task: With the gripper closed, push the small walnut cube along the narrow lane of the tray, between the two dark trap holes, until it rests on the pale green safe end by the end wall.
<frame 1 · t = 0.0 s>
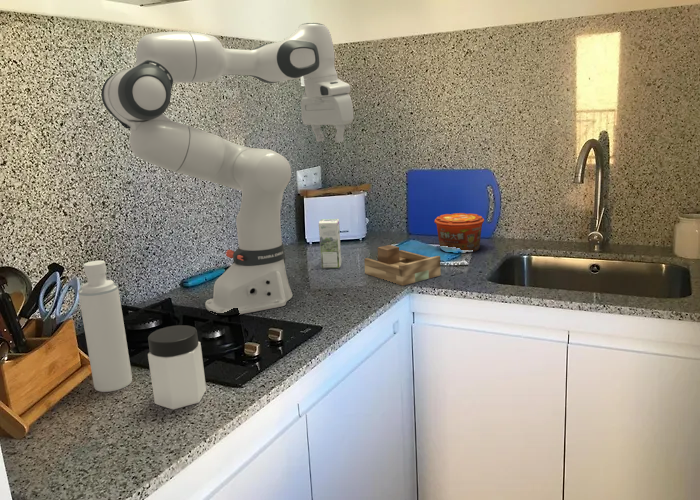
hand: (329, 141, 161), 39 cm above the worktop, tool pointing down, fingers open, 8 cm apart
food container: (459, 249, 198), on the worktop
jar: (181, 398, 105), on the worktop
block: (388, 262, 177), point 2 cm above the worktop, touching tray
tray: (402, 274, 172), on the worktop
white bottle: (113, 384, 112), on the worktop
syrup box: (331, 266, 185), on the worktop
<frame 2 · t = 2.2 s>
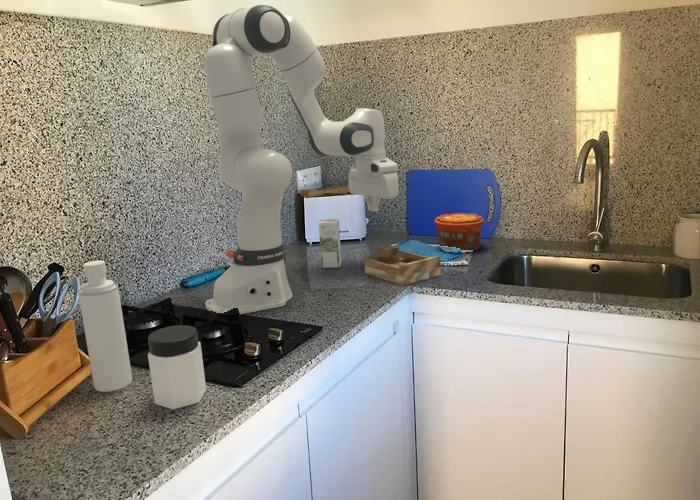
hand: (373, 211, 178), 17 cm above the worktop, tool pointing down, fingers closed
nothing on the worktop moved.
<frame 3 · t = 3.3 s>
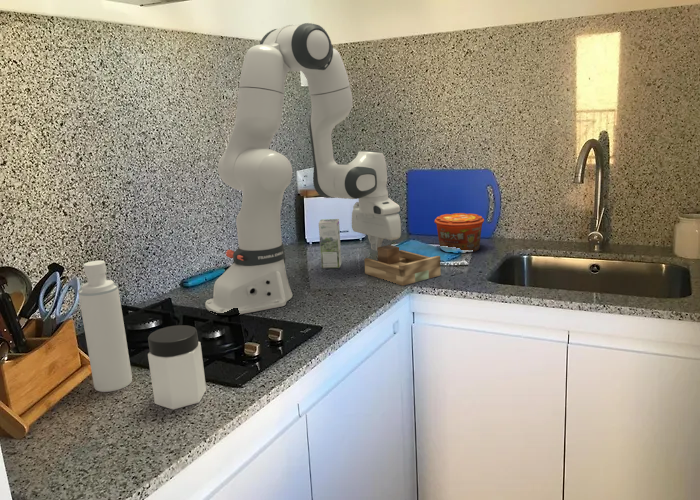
hand: (376, 249, 181), 5 cm above the worktop, tool pointing down, fingers closed
nothing on the worktop moved.
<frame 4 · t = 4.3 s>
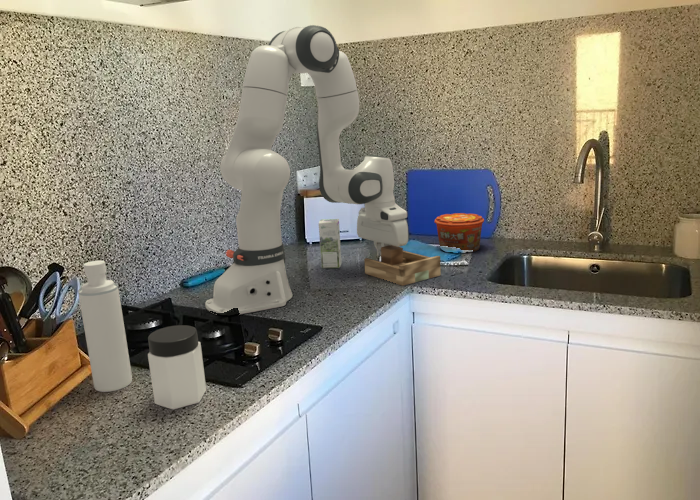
hand: (382, 256, 179), 4 cm above the worktop, tool pointing down, fingers closed
block: (391, 262, 176), point 3 cm above the worktop, touching tray, gripper
everything else where it was.
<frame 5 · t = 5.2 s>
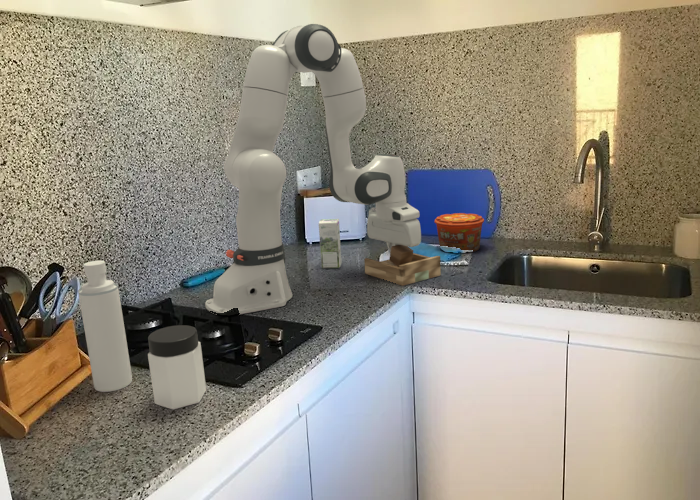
hand: (394, 256, 176), 4 cm above the worktop, tool pointing down, fingers closed
block: (400, 262, 173), point 3 cm above the worktop, tilted 17°, touching tray, gripper
everything else where it was.
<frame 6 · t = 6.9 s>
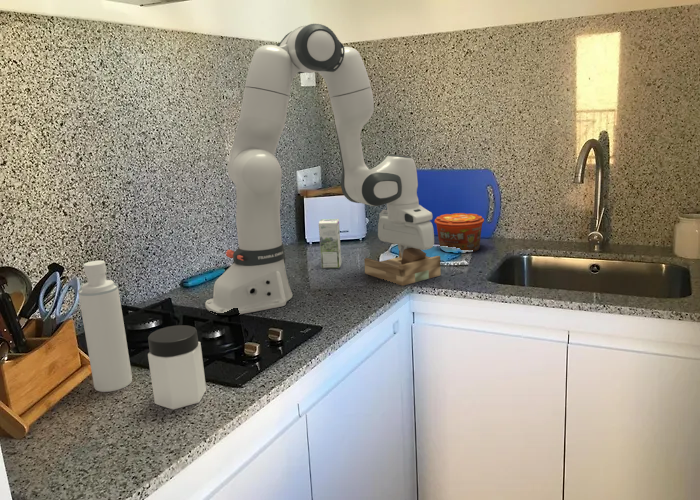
hand: (406, 259, 171), 4 cm above the worktop, tool pointing down, fingers closed
block: (412, 265, 169), point 3 cm above the worktop, tilted 17°, touching tray, gripper
everything else where it was.
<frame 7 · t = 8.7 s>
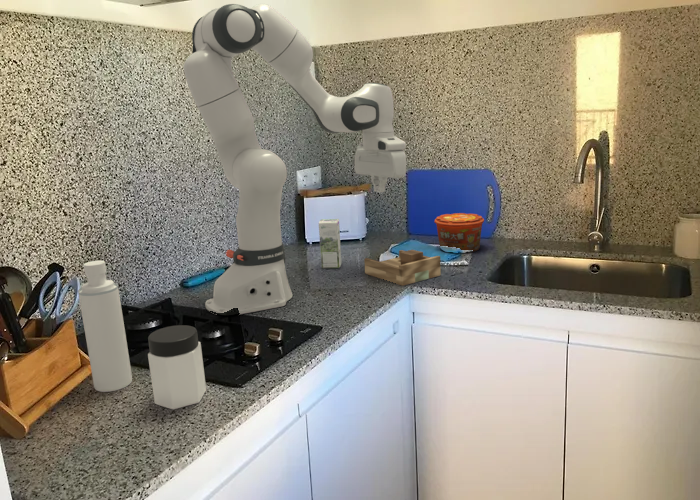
hand: (379, 191, 172), 23 cm above the worktop, tool pointing down, fingers closed
block: (412, 267, 169), point 2 cm above the worktop, touching tray
everything else where it was.
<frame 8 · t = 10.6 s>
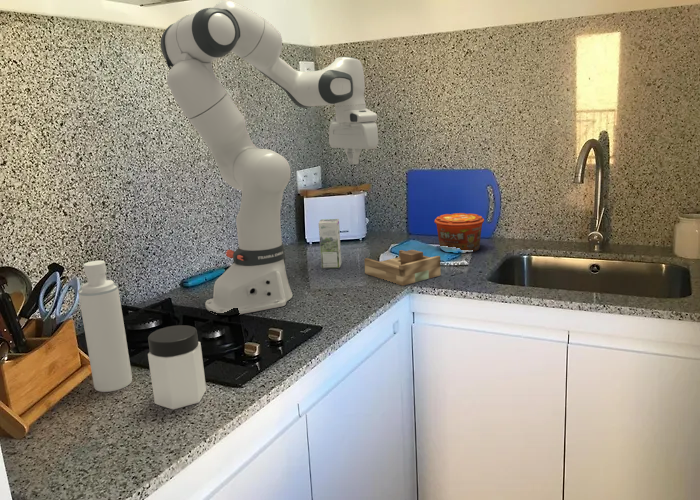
hand: (353, 164, 176), 31 cm above the worktop, tool pointing down, fingers closed
nothing on the worktop moved.
at the end: block 1.7 cm from the target spot on the tray, point 2.5 cm above the tray's base; block tilted 0° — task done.
